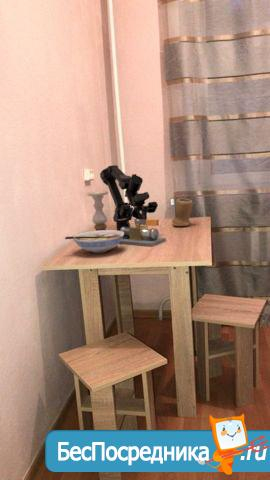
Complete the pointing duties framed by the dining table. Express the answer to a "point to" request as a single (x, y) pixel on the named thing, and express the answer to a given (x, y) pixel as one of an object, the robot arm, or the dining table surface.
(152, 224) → the valve lever
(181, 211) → the stone cup
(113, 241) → the ramen bowl
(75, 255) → the dining table surface
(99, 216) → the candle holder
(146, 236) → the valve assembly
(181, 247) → the dining table surface
